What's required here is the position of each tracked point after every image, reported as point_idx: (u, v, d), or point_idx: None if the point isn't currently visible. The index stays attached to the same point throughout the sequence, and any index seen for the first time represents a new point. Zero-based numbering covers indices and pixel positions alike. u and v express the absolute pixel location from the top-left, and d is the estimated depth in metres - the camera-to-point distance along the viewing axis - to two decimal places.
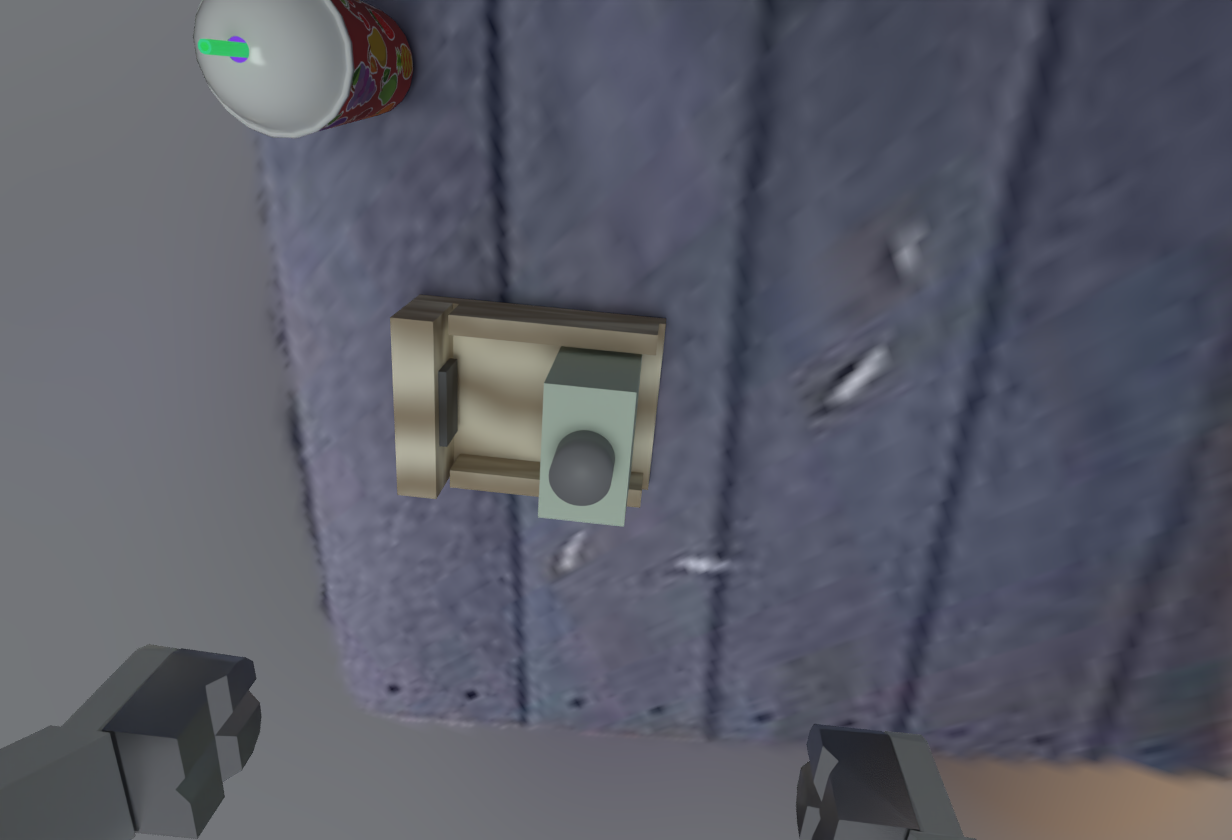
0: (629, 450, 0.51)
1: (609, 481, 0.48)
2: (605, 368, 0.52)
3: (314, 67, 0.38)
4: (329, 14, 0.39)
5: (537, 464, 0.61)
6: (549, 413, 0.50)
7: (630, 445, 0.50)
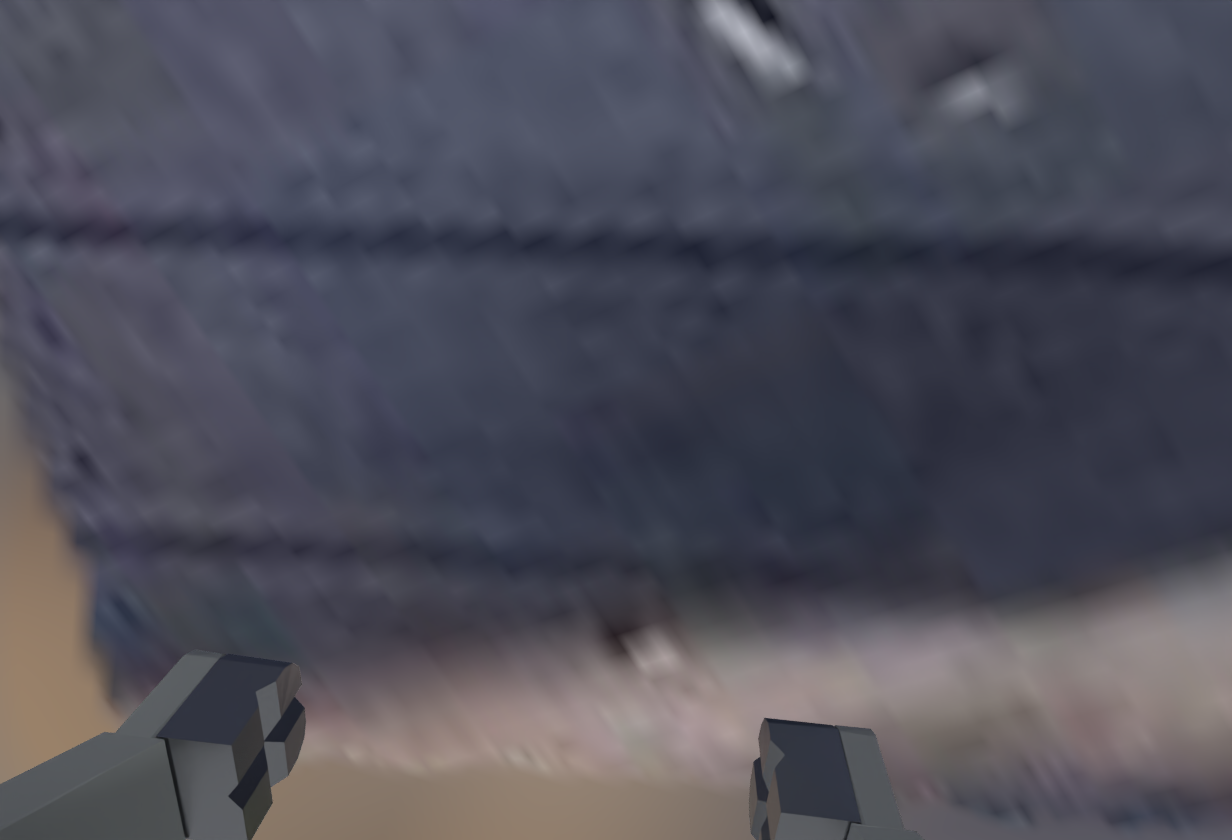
0: None
1: None
2: None
3: None
4: None
5: None
6: None
7: None
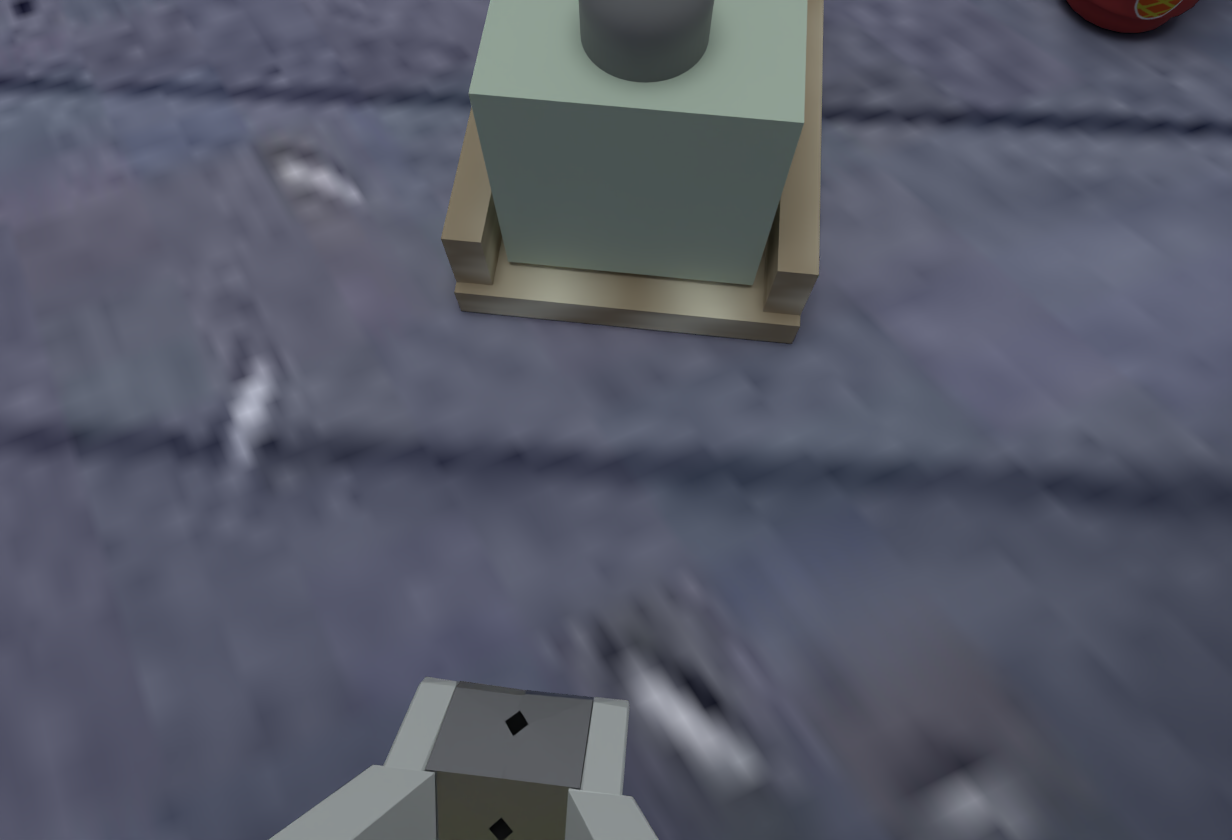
0: (663, 107, 0.23)
1: None
2: None
3: None
4: None
5: None
6: None
7: (676, 109, 0.23)
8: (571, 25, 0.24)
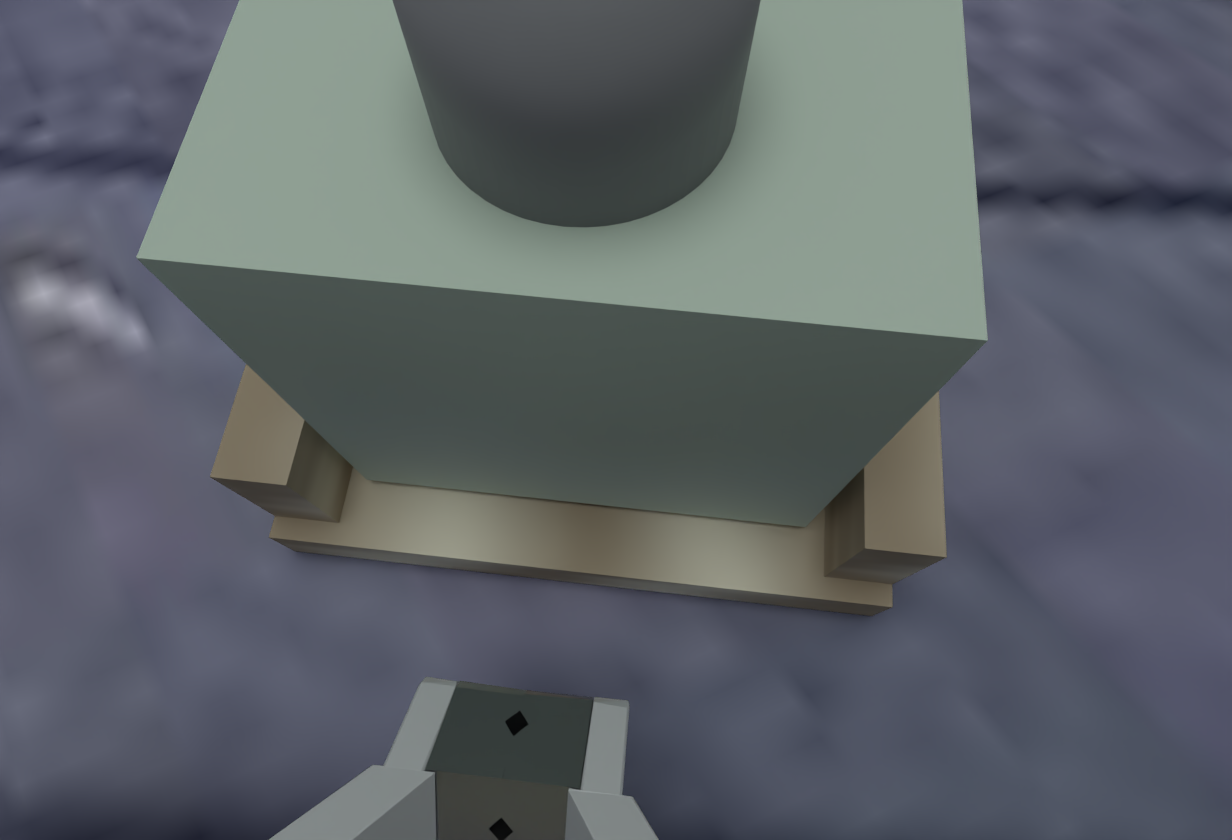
0: (626, 297, 0.09)
1: (543, 2, 0.07)
2: None
3: None
4: None
5: None
6: None
7: (657, 302, 0.09)
8: (412, 81, 0.10)
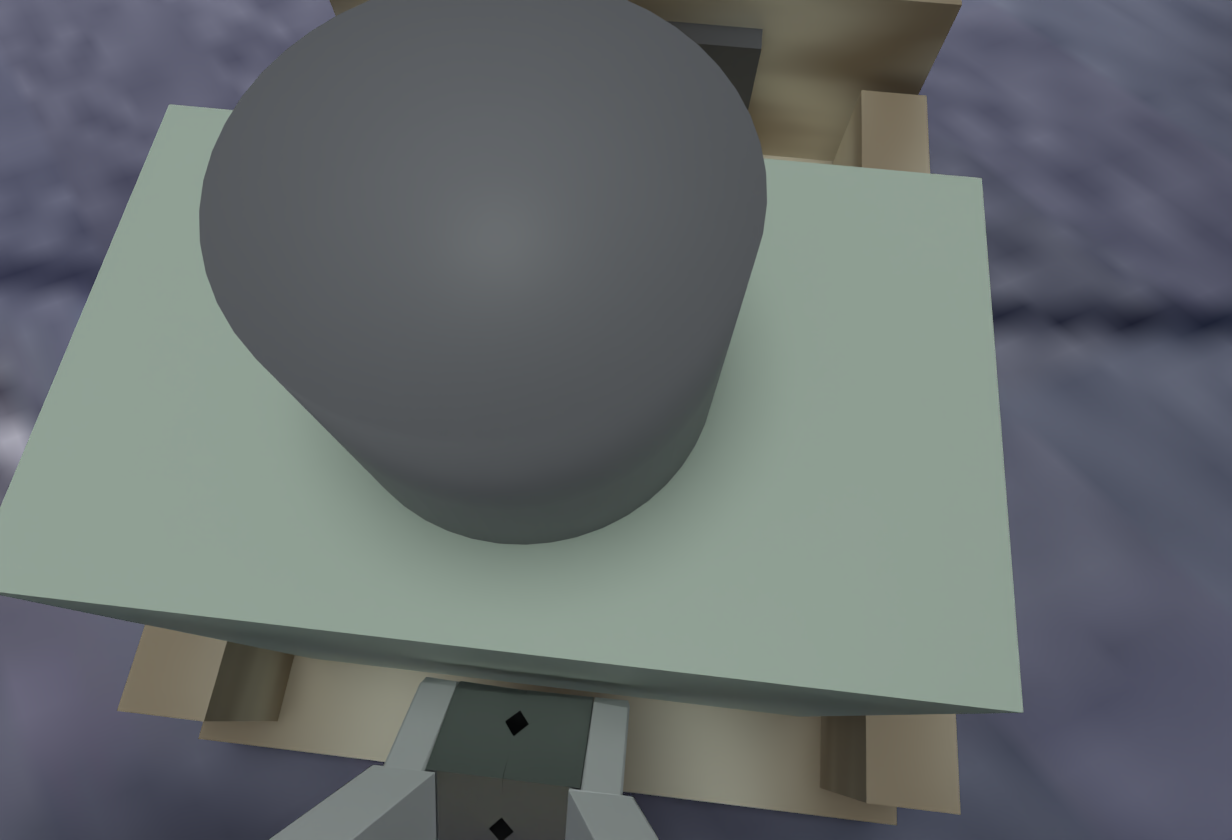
0: (572, 647, 0.07)
1: (433, 420, 0.05)
2: None
3: None
4: None
5: None
6: (804, 195, 0.09)
7: (611, 656, 0.07)
8: None
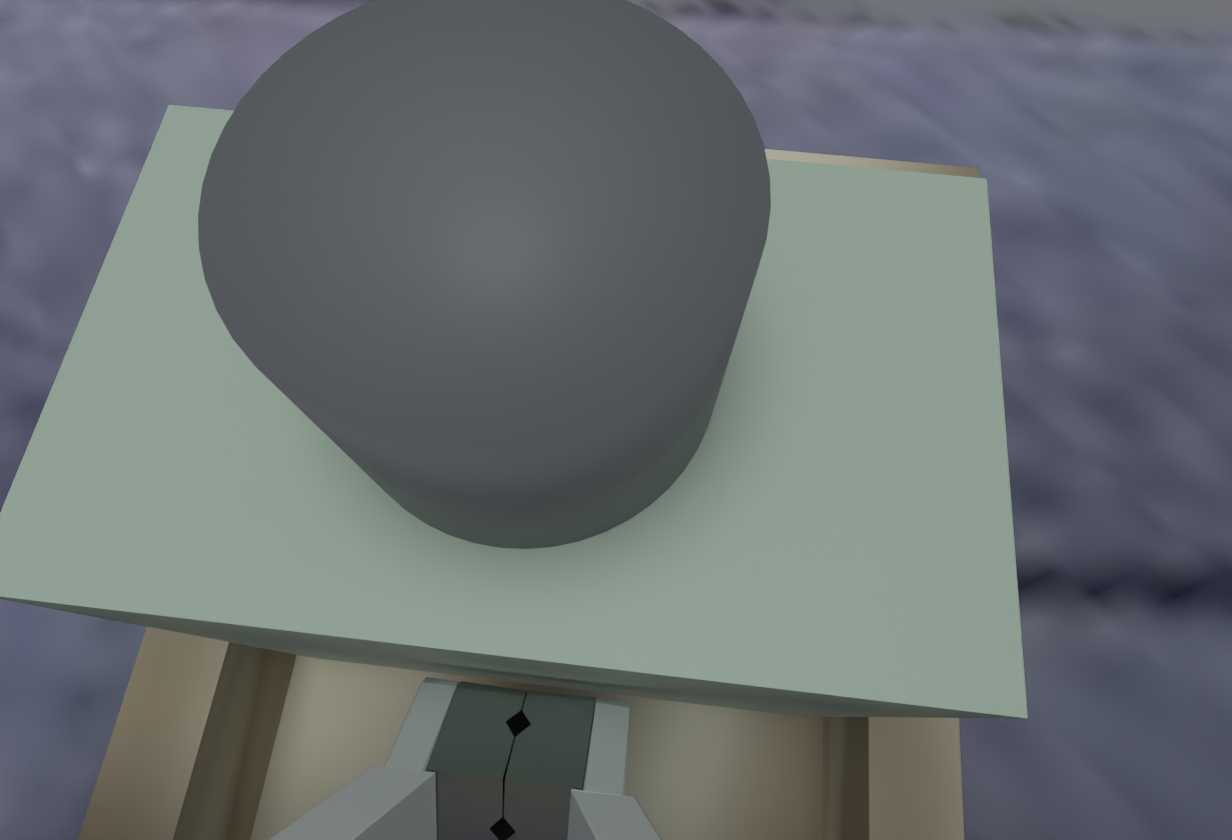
0: (574, 652, 0.07)
1: (434, 429, 0.05)
2: None
3: None
4: None
5: (285, 654, 0.15)
6: (808, 195, 0.09)
7: (614, 661, 0.07)
8: None
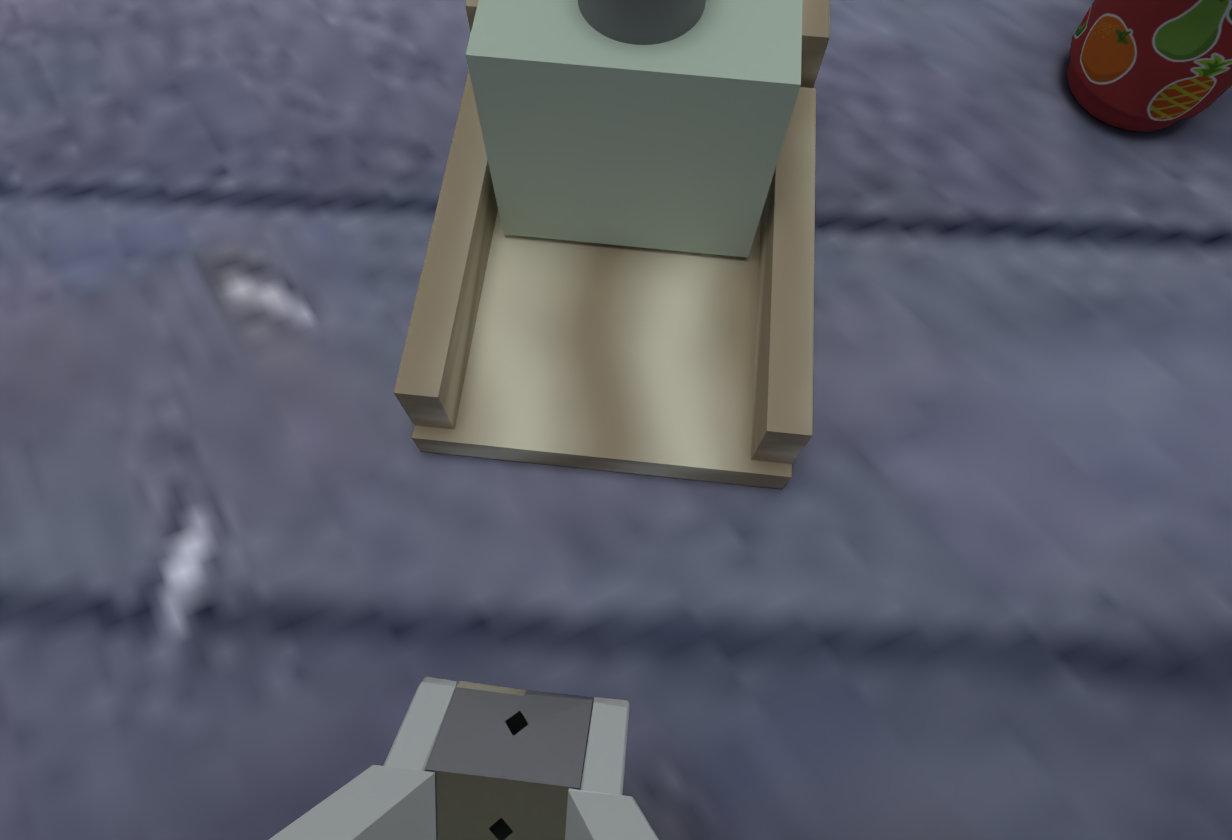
0: (661, 69, 0.23)
1: None
2: None
3: None
4: None
5: (490, 228, 0.31)
6: None
7: (673, 71, 0.23)
8: None
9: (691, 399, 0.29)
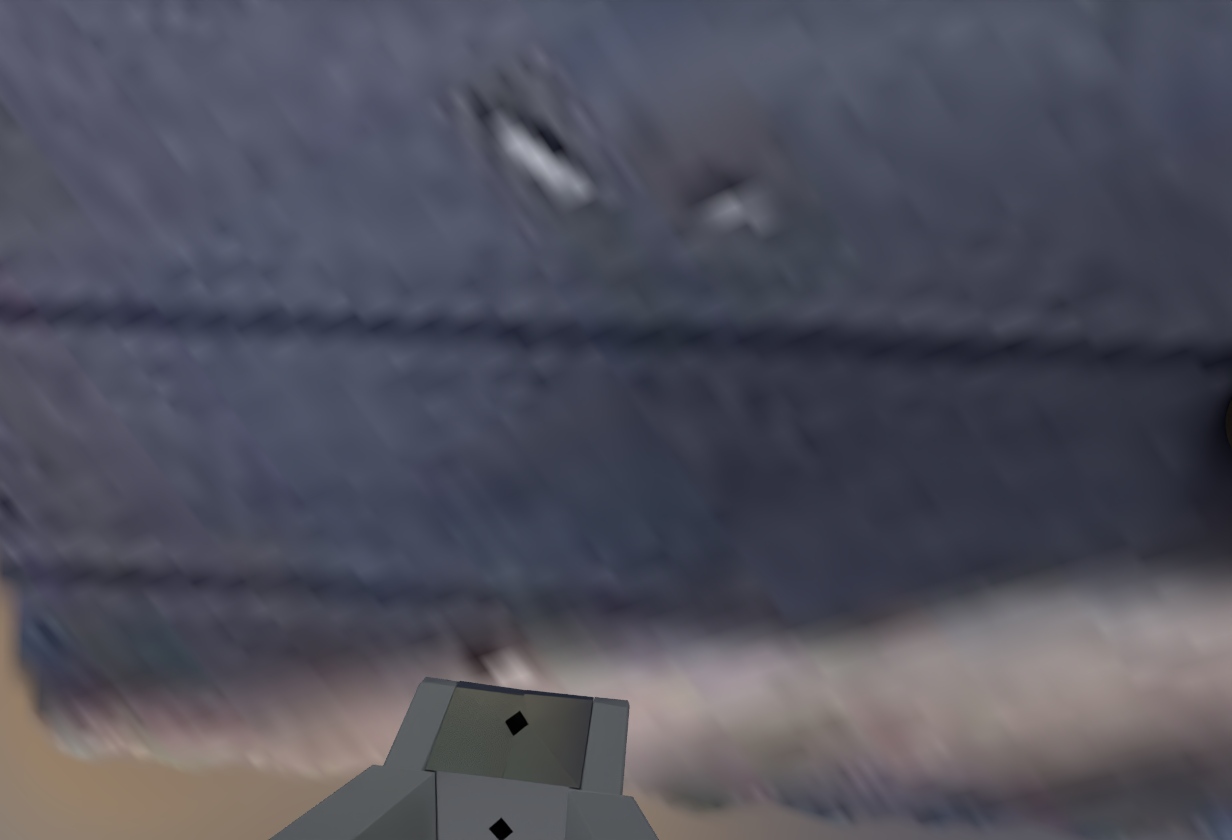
0: None
1: None
2: None
3: None
4: None
5: None
6: None
7: None
8: None
9: None
